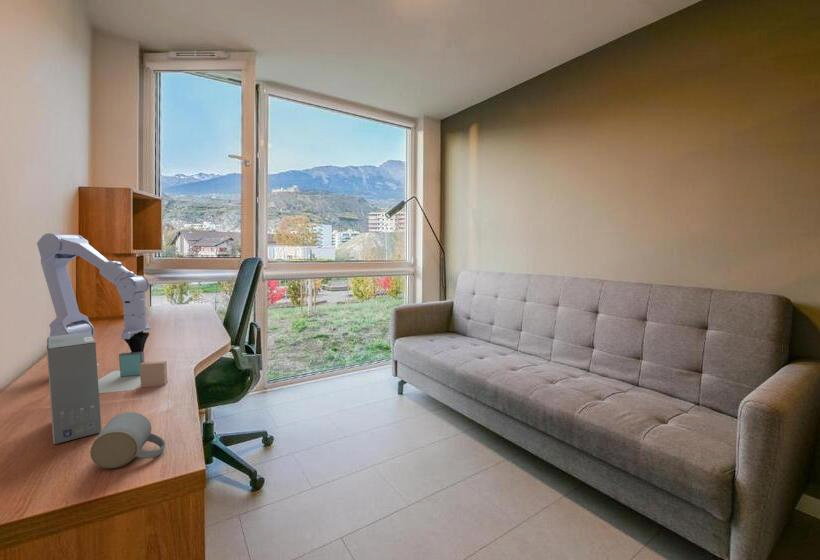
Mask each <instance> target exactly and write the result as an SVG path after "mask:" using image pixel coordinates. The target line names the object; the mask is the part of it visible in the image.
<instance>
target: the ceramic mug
mask: <svg viewBox="0 0 820 560" xmlns="http://www.w3.org/2000/svg"><path fill="white" fill-rule="evenodd" d="M147 442H150V443H153V444H155V445H156V446H158V447H159V448H158V449H156V450H145V449H142V448H143V447H144V445H145V444H146V443H147ZM165 448H166V441H165V439H164V438H162V437H161V436H159V435H157V434H155V433H152V424H151V421H150V420H149V419H148V417H147V416H145V415H143V414H141V413H138V412H135V411H127V412H125V411H124V412H121V413H119V414H117V415H115V416H113V417H111V418H110V420H108V422H107V423H106V424H105V426H104V427H103V429H101V432H100V433H98V435H97V436H96V437H95V439H94V441H93V443H92V446H91V448H90V458H91V460H92V462H93V463H94V464H95V465H97V466H99V467H100V468H103V469H117V468H121V467H123V466H126V465H127V464H128V463H130V462H131V461H132V460H134V459H135V458H139V459H152V458H153V459H154V458H157V457H159V456H160V455H161V454H163V452H164V449H165Z"/></svg>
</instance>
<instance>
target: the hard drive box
mask: <svg viewBox="0 0 820 560" xmlns="http://www.w3.org/2000/svg"><path fill="white" fill-rule="evenodd" d="M96 344H97V342H96V341H95V339H94V336H93V337H92V335H91V333H90V332H85V333H76V334H67V335H59V336H50V335H49V336H48V337H47V339H46V357H47V358H46V359H47V370H48V371H47V373H48V385H49V386H48V387H49V401H50V402H49V404H50V413H51V414H50V416H51V417H50V418H51V426H52V427H51V430H52V441H53V444H54V445H57V444H61V443H64V442H69V441H72V440H75V439H76V440H77V439H80V438H85V437H88V436H92V435H96V434H100V432H101V431H102V416H101V415H102V414H101V403H100V401H101V399H100V393H99V387H98V380H99V377H98V375H99V374H98V366H97V364H98V360H97V345H96Z"/></svg>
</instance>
